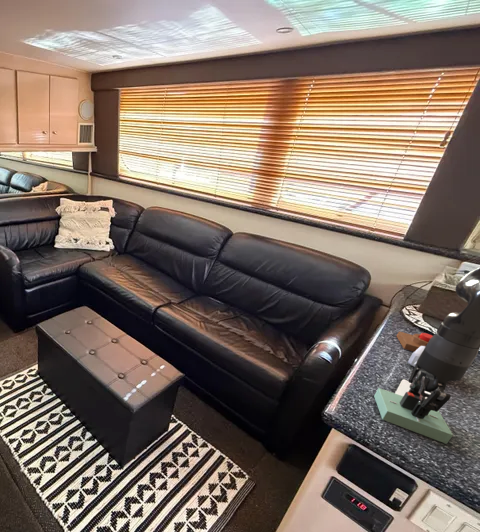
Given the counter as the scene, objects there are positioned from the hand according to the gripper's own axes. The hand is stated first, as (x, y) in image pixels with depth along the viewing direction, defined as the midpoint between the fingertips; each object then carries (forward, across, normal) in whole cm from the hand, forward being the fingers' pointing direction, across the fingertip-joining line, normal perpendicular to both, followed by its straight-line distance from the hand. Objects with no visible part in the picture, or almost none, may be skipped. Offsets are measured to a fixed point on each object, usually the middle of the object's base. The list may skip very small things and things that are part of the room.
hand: (413, 408), depth 81 cm
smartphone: (+4, +12, -4) cm, 14 cm away
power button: (0, +49, -15) cm, 51 cm away
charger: (+3, +32, -12) cm, 34 cm away
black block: (0, 0, 0) cm, 0 cm away
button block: (+3, +49, -15) cm, 51 cm away
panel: (+3, 0, 0) cm, 3 cm away
